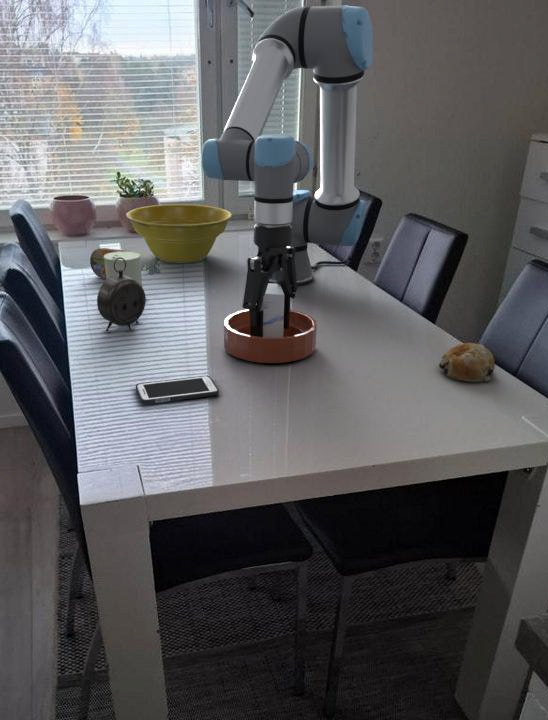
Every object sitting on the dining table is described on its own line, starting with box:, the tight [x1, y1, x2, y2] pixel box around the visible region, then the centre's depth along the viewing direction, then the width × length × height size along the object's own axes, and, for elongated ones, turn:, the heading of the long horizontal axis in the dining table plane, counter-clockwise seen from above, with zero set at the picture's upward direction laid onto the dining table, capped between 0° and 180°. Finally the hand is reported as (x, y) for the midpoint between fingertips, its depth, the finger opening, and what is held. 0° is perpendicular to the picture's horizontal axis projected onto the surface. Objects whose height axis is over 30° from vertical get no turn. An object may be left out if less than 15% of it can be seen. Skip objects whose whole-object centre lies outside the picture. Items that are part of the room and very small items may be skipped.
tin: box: [89, 247, 133, 280], centre depth 187 cm, size 15×3×8 cm, turn 68°
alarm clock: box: [96, 257, 147, 333], centre depth 150 cm, size 11×5×16 cm, turn 134°
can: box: [104, 250, 143, 287], centre depth 169 cm, size 9×9×12 cm
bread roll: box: [438, 342, 496, 383], centre depth 132 cm, size 10×10×8 cm
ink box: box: [261, 283, 284, 337], centre depth 140 cm, size 8×5×12 cm, turn 5°
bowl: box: [223, 309, 318, 364], centre depth 143 cm, size 20×20×6 cm
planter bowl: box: [125, 203, 233, 264], centre depth 206 cm, size 32×32×13 cm
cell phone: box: [135, 375, 220, 405], centre depth 125 cm, size 8×15×1 cm, turn 107°
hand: (270, 333), depth 142 cm, fingers closed on ink box, 9 cm apart
